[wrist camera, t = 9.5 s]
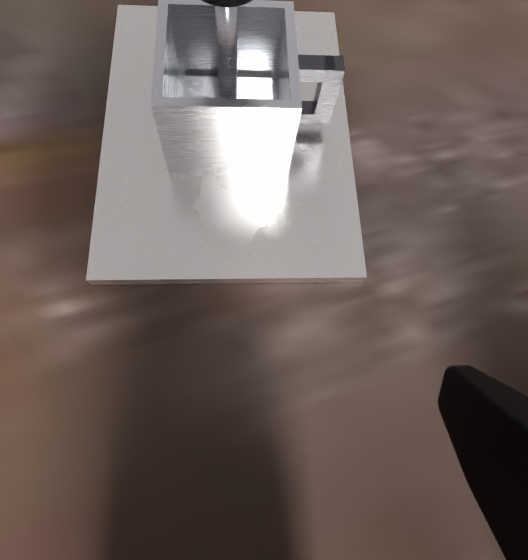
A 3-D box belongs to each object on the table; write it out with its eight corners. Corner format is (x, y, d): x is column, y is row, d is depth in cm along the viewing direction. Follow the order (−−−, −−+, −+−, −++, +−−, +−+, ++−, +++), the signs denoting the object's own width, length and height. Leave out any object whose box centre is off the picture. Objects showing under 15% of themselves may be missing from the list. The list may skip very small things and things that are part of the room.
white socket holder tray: (362, 282, 24) (405, 233, 18) (90, 285, 23) (39, 233, 17) (331, 22, 30) (354, -76, 24) (120, 15, 29) (92, -90, 23)
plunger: (275, 156, 24) (302, -33, 14) (181, 156, 24) (143, -41, 14) (271, 84, 26) (293, -130, 16) (184, 82, 26) (152, -138, 16)
